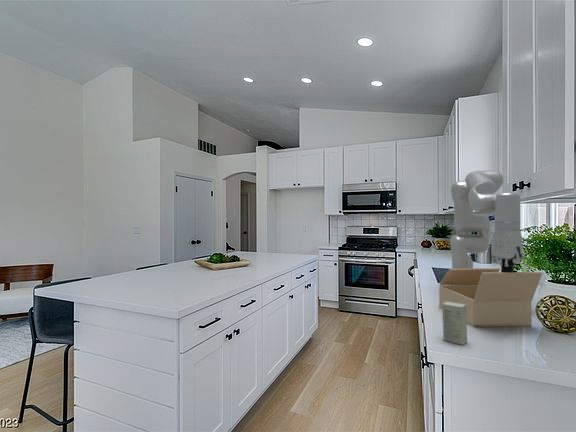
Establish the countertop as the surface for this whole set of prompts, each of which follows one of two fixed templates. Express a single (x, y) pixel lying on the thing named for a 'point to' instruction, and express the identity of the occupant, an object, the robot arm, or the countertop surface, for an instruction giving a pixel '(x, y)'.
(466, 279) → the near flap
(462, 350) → the countertop surface
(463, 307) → the skincare box
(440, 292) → the carton
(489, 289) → the outer flap
